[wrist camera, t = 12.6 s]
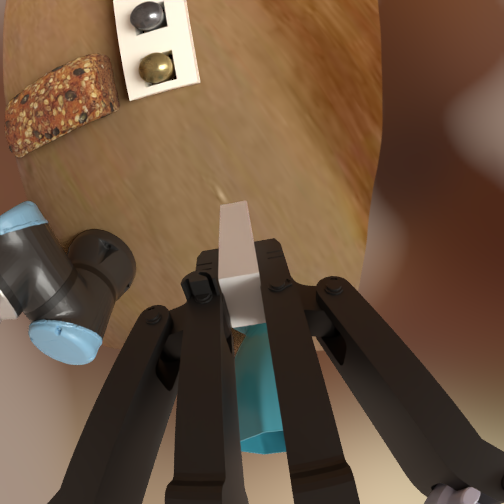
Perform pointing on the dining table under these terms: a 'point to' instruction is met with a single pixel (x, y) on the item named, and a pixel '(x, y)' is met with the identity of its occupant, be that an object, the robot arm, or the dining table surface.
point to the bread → (61, 103)
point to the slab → (156, 46)
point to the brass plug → (157, 68)
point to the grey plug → (148, 16)
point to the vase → (257, 394)
